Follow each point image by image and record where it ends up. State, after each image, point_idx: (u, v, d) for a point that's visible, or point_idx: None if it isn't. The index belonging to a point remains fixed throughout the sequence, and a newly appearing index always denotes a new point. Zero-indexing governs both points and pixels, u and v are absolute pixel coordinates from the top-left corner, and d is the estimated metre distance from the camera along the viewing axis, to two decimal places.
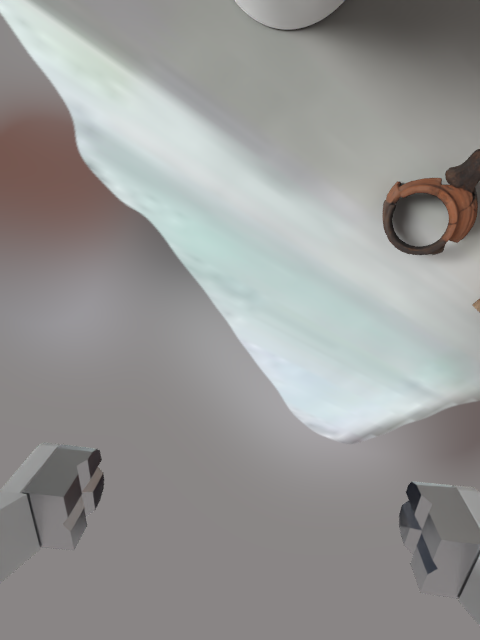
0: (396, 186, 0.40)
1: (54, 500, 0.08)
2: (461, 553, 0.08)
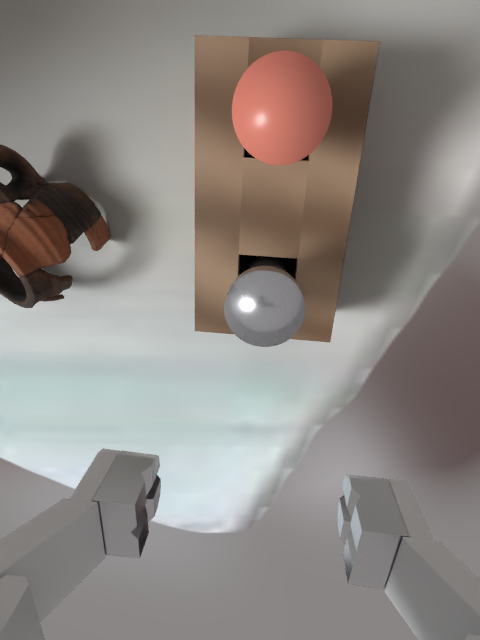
0: None
1: (125, 508, 0.08)
2: (382, 544, 0.08)
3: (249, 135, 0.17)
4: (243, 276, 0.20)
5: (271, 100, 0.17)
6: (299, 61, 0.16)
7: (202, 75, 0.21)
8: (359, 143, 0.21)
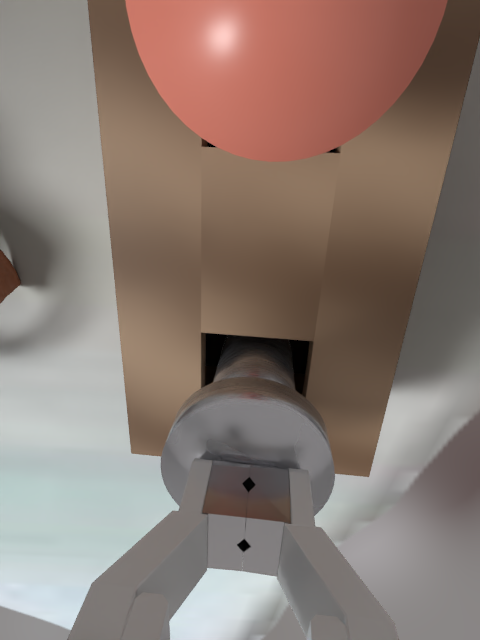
0: None
1: (235, 520, 0.08)
2: (268, 530, 0.08)
3: (184, 70, 0.06)
4: (198, 409, 0.09)
5: None
6: None
7: None
8: (452, 114, 0.10)
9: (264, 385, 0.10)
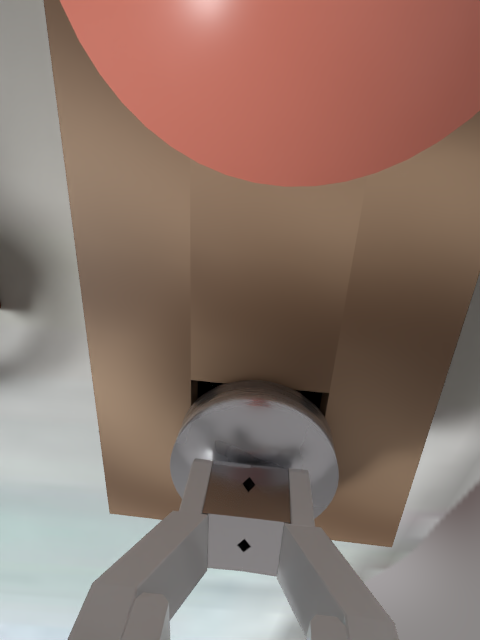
0: None
1: (235, 521, 0.08)
2: (268, 531, 0.08)
3: (140, 32, 0.03)
4: (207, 411, 0.09)
5: None
6: None
7: None
8: None
9: (271, 388, 0.10)
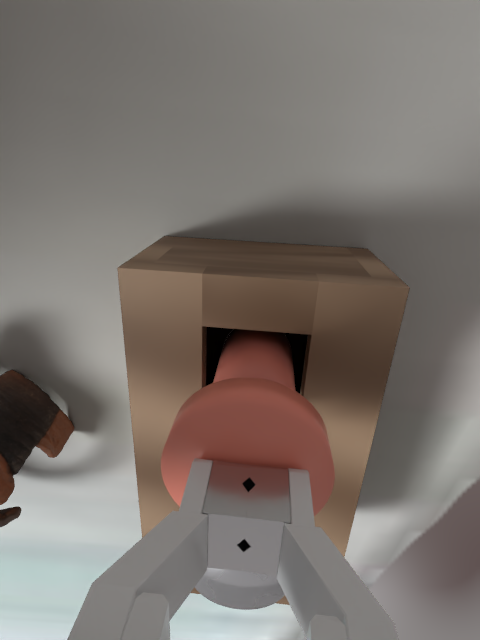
0: None
1: (235, 520, 0.08)
2: (268, 531, 0.08)
3: None
4: None
5: None
6: (274, 420, 0.09)
7: (133, 317, 0.13)
8: (375, 407, 0.14)
9: None
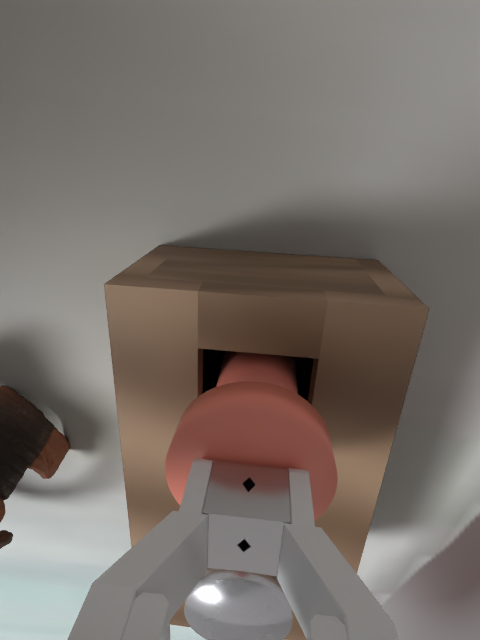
0: None
1: (235, 521, 0.08)
2: (268, 531, 0.08)
3: None
4: (208, 582, 0.15)
5: None
6: (278, 424, 0.09)
7: (122, 337, 0.12)
8: (387, 437, 0.13)
9: None
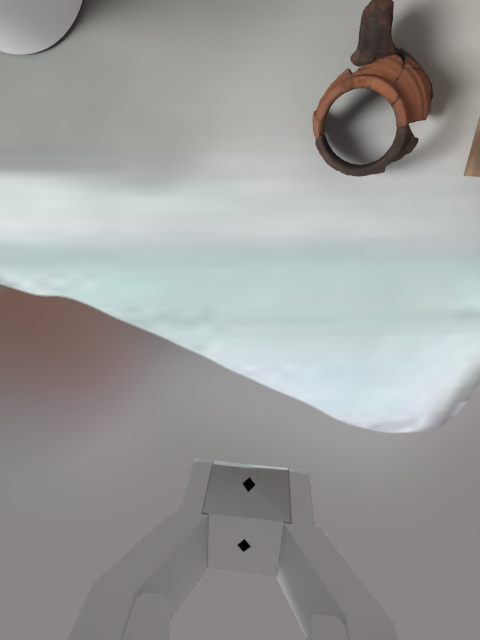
0: (313, 116, 0.32)
1: (235, 520, 0.08)
2: (268, 531, 0.08)
3: None
4: None
5: None
6: None
7: None
8: None
9: None
